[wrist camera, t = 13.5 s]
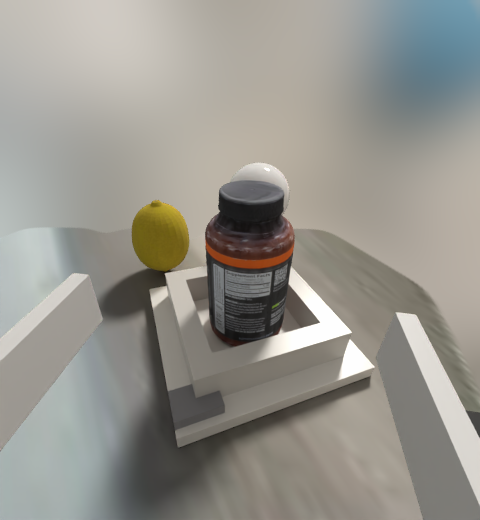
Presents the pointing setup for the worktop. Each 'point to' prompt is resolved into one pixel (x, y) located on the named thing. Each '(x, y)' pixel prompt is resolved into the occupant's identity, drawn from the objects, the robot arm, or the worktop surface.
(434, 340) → the worktop surface
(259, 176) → the lightbulb
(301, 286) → the socket
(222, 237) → the supplement bottle
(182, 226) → the lemon
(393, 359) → the robot arm
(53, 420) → the worktop surface
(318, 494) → the worktop surface
